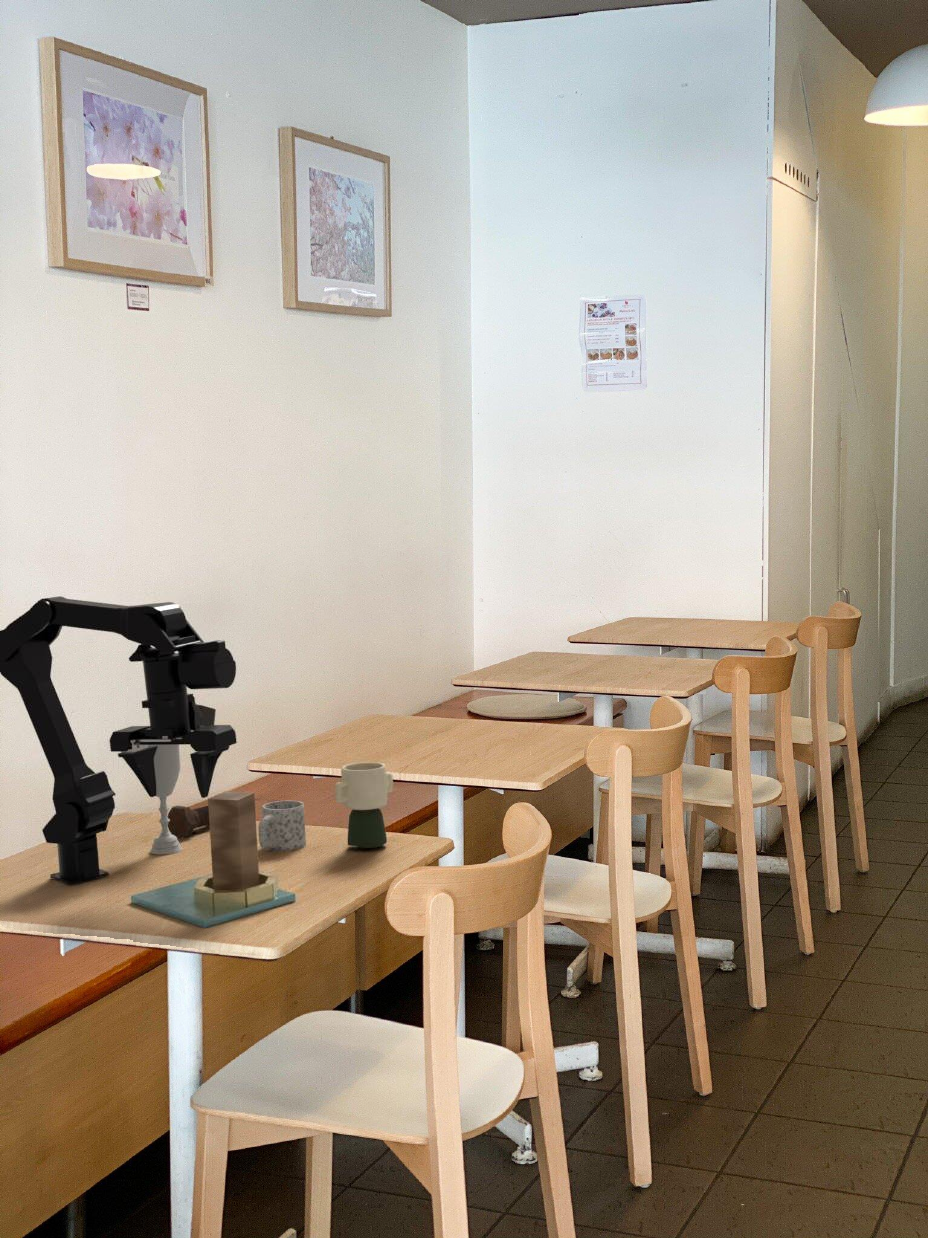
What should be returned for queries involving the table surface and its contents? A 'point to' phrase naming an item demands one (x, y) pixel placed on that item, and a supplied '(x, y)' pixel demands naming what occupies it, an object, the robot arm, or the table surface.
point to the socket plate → (213, 900)
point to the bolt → (187, 820)
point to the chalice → (166, 794)
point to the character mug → (365, 801)
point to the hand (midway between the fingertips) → (178, 797)
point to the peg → (233, 841)
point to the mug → (282, 826)
